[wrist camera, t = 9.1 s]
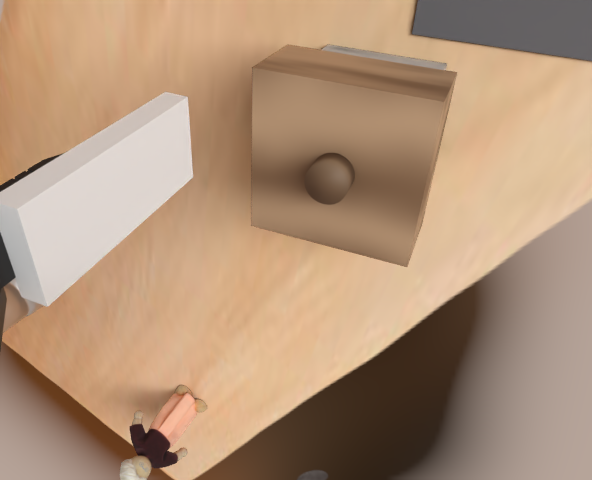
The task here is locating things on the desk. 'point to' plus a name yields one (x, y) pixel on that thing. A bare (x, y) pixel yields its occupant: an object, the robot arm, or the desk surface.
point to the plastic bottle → (17, 305)
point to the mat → (511, 24)
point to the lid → (346, 149)
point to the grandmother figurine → (161, 435)
